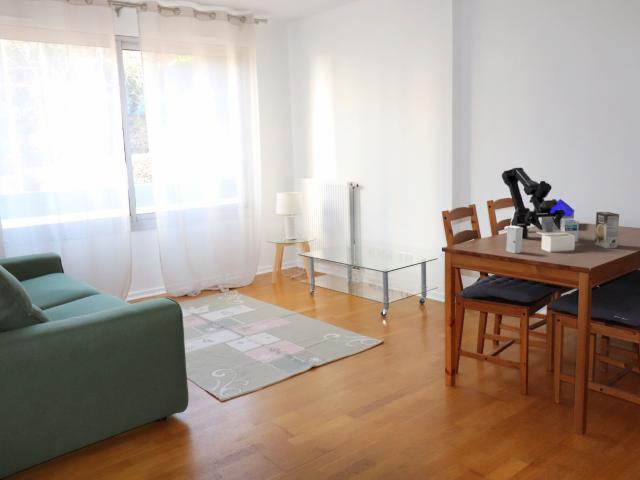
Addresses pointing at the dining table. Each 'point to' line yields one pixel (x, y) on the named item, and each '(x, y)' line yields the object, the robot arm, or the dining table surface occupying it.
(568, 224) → the light bulb box
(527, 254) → the dining table surface
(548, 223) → the carton lid
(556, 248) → the carton
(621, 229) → the dining table surface
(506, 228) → the seated beast figurine
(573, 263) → the dining table surface
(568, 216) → the house
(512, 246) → the skincare box
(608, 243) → the coffee box
